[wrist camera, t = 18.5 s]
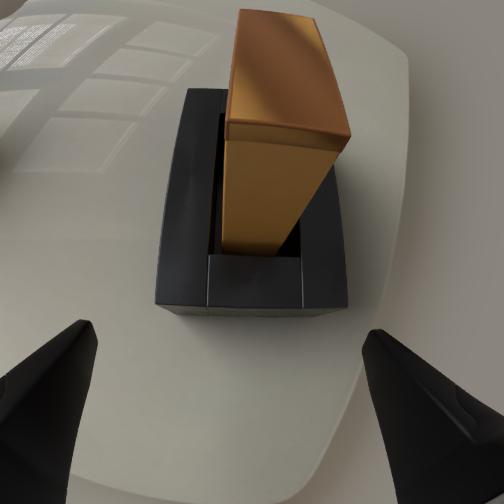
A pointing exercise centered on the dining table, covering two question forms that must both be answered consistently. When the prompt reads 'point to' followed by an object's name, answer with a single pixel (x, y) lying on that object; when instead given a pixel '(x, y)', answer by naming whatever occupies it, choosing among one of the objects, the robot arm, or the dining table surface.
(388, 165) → the dining table surface
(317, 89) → the toast
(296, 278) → the toaster
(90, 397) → the dining table surface
